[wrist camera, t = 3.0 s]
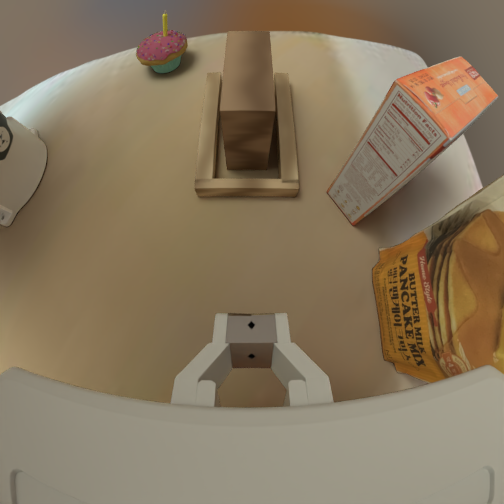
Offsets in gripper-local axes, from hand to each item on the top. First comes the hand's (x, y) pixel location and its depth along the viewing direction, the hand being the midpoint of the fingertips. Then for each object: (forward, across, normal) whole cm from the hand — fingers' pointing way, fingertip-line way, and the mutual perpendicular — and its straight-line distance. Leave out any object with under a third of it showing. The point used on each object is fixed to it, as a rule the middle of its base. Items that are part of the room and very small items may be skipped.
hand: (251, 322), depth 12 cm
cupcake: (+42, +14, -14) cm, 46 cm away
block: (+31, 0, -3) cm, 31 cm away
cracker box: (+26, -17, +3) cm, 31 cm away
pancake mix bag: (+14, -18, +15) cm, 27 cm away
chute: (+31, 0, -3) cm, 31 cm away
